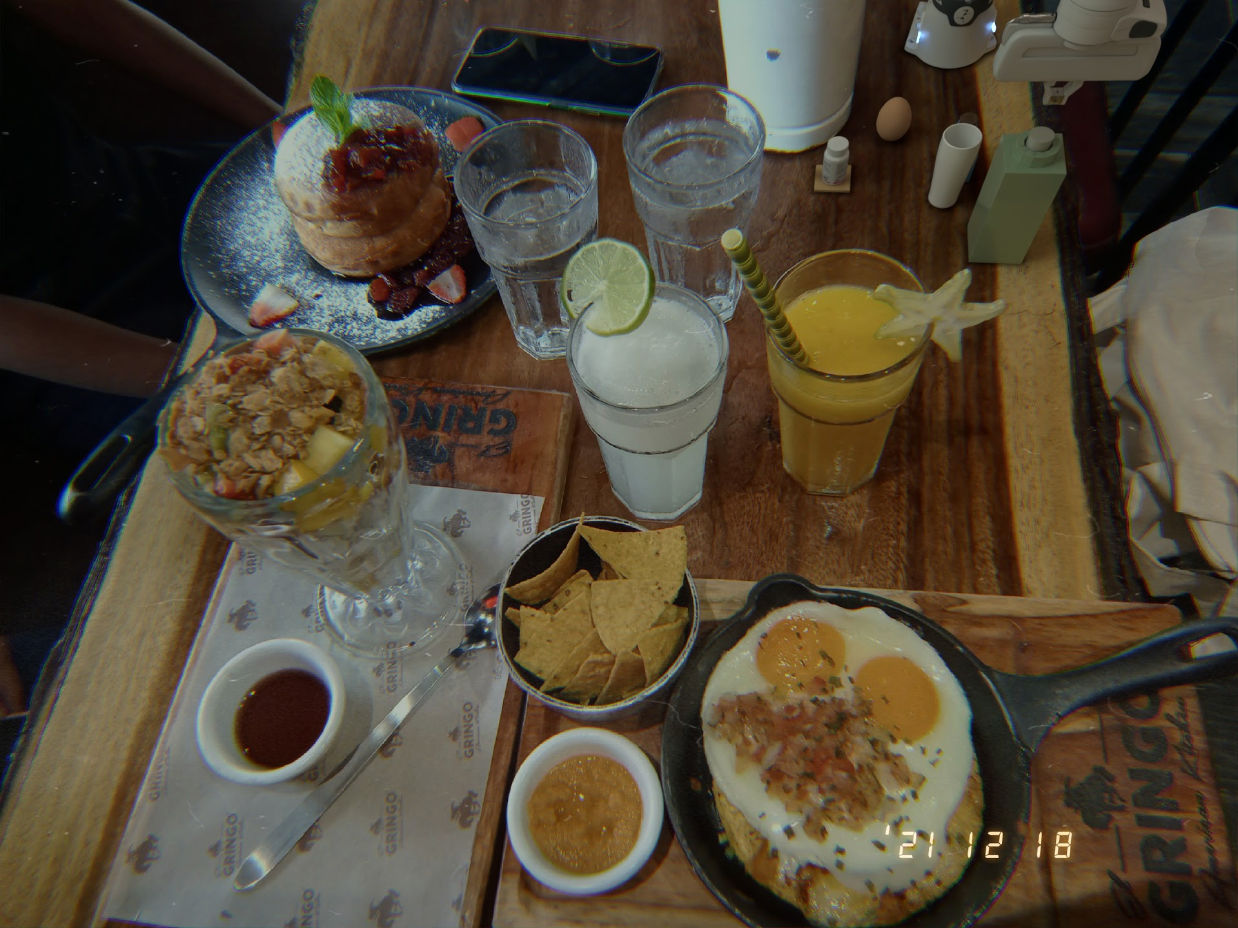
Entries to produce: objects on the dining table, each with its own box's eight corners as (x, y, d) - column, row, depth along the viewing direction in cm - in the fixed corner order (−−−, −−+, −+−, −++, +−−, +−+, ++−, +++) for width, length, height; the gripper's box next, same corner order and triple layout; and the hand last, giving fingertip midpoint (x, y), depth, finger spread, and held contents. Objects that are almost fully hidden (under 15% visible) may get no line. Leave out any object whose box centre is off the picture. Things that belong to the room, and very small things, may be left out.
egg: (891, 154, 150) (900, 116, 142) (866, 139, 153) (873, 101, 145) (913, 137, 151) (923, 98, 143) (888, 122, 154) (896, 83, 146)
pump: (1024, 137, 118) (1029, 126, 116) (1049, 137, 117) (1053, 126, 115) (1025, 153, 116) (1030, 142, 114) (1050, 153, 116) (1055, 142, 114)
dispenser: (967, 225, 139) (1006, 123, 119) (1018, 226, 138) (1067, 123, 117) (968, 262, 136) (1009, 163, 115) (1021, 264, 134) (1072, 163, 113)
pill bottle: (847, 170, 149) (852, 135, 142) (843, 187, 147) (849, 153, 140) (823, 168, 150) (827, 134, 143) (819, 185, 148) (823, 151, 141)
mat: (815, 167, 152) (816, 164, 151) (850, 167, 150) (851, 165, 150) (813, 192, 149) (814, 189, 148) (849, 192, 147) (849, 190, 147)
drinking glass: (916, 194, 144) (934, 131, 131) (947, 182, 145) (969, 117, 131) (935, 217, 141) (956, 154, 128) (967, 204, 142) (991, 140, 128)
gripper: (1010, 29, 99) (979, 117, 111) (1181, 25, 94) (1129, 116, 107) (1007, 0, 101) (978, 88, 114) (1174, -6, 97) (1124, 87, 109)
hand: (1053, 102), depth 110 cm, fingers closed
